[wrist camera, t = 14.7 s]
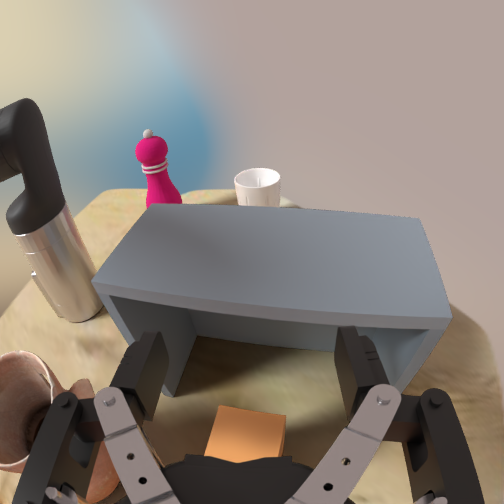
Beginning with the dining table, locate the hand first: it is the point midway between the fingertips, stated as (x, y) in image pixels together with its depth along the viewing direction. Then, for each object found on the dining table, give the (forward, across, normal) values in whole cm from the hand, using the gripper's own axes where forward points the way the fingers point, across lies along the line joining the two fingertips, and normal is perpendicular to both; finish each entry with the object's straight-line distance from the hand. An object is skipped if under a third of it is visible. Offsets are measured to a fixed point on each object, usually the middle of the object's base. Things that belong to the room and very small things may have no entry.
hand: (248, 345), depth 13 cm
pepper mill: (+47, +19, +10) cm, 52 cm away
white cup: (+44, 0, +11) cm, 45 cm away
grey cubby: (+14, -1, +18) cm, 23 cm away
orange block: (+3, +1, +21) cm, 21 cm away
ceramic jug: (+2, +22, +22) cm, 31 cm away
